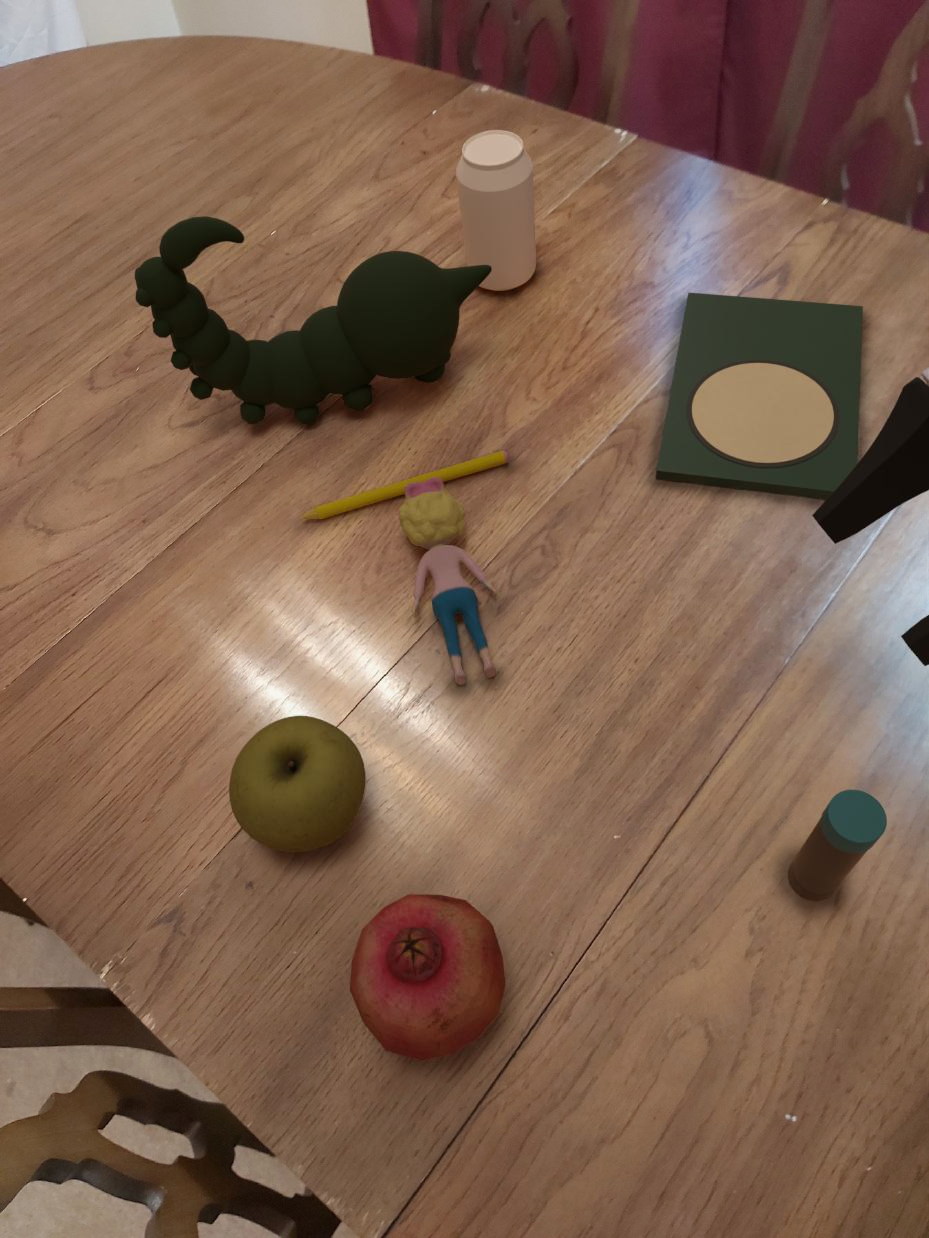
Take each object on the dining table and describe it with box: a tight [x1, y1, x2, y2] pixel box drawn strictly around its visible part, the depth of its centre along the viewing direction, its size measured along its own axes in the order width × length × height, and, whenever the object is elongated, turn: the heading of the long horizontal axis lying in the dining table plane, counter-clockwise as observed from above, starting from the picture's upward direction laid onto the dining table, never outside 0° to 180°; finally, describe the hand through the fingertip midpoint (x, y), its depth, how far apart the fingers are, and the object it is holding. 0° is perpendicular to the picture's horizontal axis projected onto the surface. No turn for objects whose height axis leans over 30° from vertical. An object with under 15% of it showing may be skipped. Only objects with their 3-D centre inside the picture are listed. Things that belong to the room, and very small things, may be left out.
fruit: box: [349, 894, 507, 1062], centre depth 47 cm, size 8×8×10 cm
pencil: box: [298, 449, 510, 520], centre depth 71 cm, size 16×1×1 cm, turn 107°
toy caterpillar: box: [134, 215, 492, 427], centre depth 70 cm, size 9×19×25 cm
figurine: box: [398, 477, 498, 686], centre depth 64 cm, size 6×4×15 cm
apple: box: [228, 715, 367, 853], centre depth 55 cm, size 8×8×7 cm
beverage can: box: [455, 129, 537, 292], centre depth 79 cm, size 6×6×12 cm
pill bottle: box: [787, 789, 888, 902], centre depth 49 cm, size 3×3×10 cm
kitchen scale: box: [655, 292, 864, 501], centre depth 73 cm, size 20×14×1 cm
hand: (865, 587), depth 41 cm, fingers open, 7 cm apart
